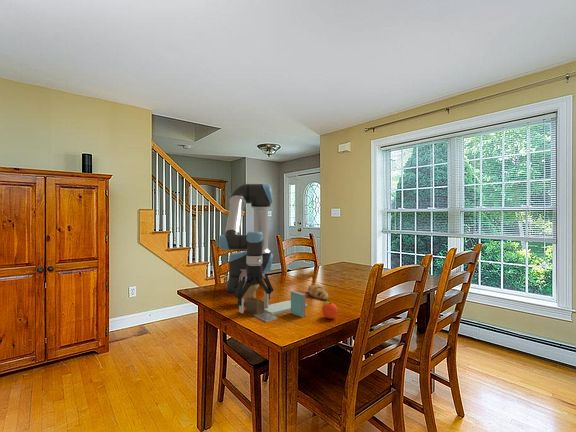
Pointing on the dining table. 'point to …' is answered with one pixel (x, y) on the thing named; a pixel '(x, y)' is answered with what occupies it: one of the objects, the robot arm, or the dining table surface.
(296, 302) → the tile
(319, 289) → the croissant
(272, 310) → the board
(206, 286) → the dining table surface
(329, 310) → the clementine
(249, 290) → the ice cream cone
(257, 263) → the robot arm
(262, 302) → the brown grey long block
